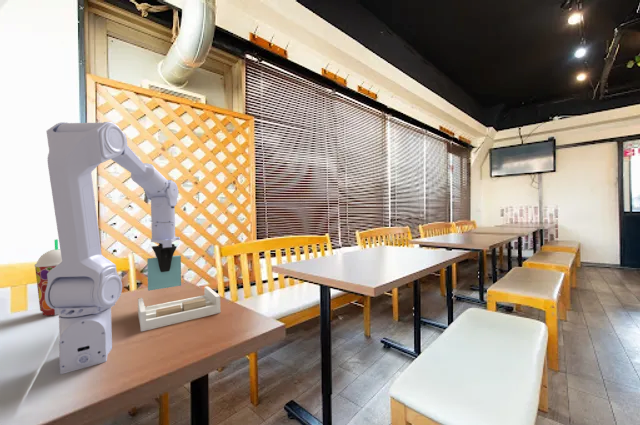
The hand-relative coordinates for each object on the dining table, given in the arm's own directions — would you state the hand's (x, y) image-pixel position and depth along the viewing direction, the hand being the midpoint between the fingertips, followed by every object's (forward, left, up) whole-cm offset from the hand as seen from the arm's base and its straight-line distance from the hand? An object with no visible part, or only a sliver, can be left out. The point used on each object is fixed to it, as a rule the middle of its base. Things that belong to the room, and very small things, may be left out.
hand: (164, 270), depth 75 cm
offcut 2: (-13, -5, -10) cm, 17 cm away
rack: (-10, -2, -10) cm, 15 cm away
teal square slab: (0, 0, -5) cm, 5 cm away
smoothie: (+16, +24, -11) cm, 31 cm away
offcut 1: (-13, +1, -10) cm, 17 cm away
